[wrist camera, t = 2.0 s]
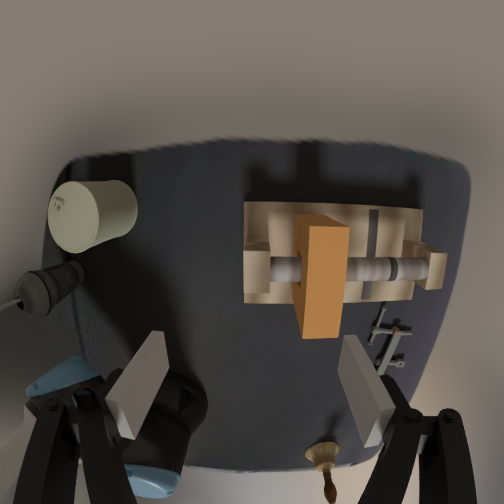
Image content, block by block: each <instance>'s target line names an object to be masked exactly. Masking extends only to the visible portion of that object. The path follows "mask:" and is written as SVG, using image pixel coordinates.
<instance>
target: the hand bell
mask: <svg viewBox="0 0 504 504" xmlns="http://www.w3.org/2000/svg"><path fill="white" fill-rule="evenodd" d="M338 451H339V445H338V444H337V443H335V442H329V441H328V442H321V443H317V444H315V445H313V446H311V447H309V448H308V449H307V450H306V452H305V456H306V457H307V458H308V459H309V460H311V461H312V462H313V463H314V465H315V468H316V470H317V471H319V472H323V476H324V480H325V486H324V494H325V497H326V499H327V501H328V502H329V504H335V501H336V496H337V492H336V488H335V485H334V484H333V482H332V479H331V473H330V470H331V469H332V468H334V466H335V455H336V454H337V453H338Z"/></svg>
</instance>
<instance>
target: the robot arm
mask: <svg viewBox="0 0 504 504" xmlns="http://www.w3.org/2000/svg"><path fill="white" fill-rule="evenodd" d="M168 369H169V362H168V356H167V350H166V344H165V337H164V332H162V331H152V332H151V333H150V335H149V336H148V337H147V339H146V340H145V341H144V343H143V344H142V346H141V347H140V349H139V350H138V351H137V353H136V354H135V356H134V357H133V358H132V360H131V361H130V363H129V364H128V366H127V367H126V368H125V369H120V368H117V369H116V370H114V371H113V372H111V373H110V375H109V376H108V377H107V380H104V379H103V377H102V376H101V375H100V373H99V372H97V371H96V370H95V369H94V368H93V367H92V366H91V365H90V364H89V363H88V362H87V361H86V360H85V359H84V358H82V357H81V356H77V355H74V356H71V357H69V358H68V359H66V360H65V361H63V362H62V363H60V364H59V365H58V366H56V367H55V368H53V369H52V370H51V371H49V372H48V373H46V374H45V375H44V376H42V377H41V378H40V379H38V380H37V381H36V382H34V383H33V384H32V385H30V386H29V387H27V389H26V393H27V396H28V397H29V398H30V400H29V401H28V402H27V403H26V404H25V405H24V415H25V420H24V422H23V423H22V424H21V425H20V427H19V428H18V429H17V430H16V431H15V432H14V433H13V435H12V436H11V437H10V438H9V439H8V440H7V441H6V442H5V444H4V445H3V446H2V447H1V449H0V504H74V497H75V486H76V477H77V470H78V463H83V469H84V474H85V480H86V485H87V490H88V494H89V499H90V503H91V504H137V501H136V499H135V496H134V495H138V496H142V497H147V498H165V497H168V496H171V495H172V494H173V493H174V491H175V489H176V487H177V484H178V482H179V480H180V478H181V476H180V475H181V471H182V467H183V463H184V459H185V456H186V452H187V448H188V444H189V440H190V437H191V435H192V434H193V433H194V432H195V430H196V429H197V428H198V427H199V426H200V424H201V423H202V422H203V421H204V419H205V416H206V413H207V408H208V403H207V399H206V396H205V395H204V393H203V391H202V390H201V389H200V388H199V387H198V386H197V385H196V384H195V383H194V382H192V381H191V380H189V379H188V378H186V377H184V376H182V375H180V374H177V373H174V372H170V371H168ZM337 372H338V374H339V377H340V380H341V383H342V385H343V388H344V391H345V394H346V397H347V399H348V402H349V405H350V408H351V411H352V414H353V417H354V420H355V422H356V425H357V428H358V431H359V434H360V437H361V440H362V443H363V446H364V448H365V447H371V446H376V445H379V443H380V441H381V439H383V442H384V446H383V447H382V449H381V451H380V453H379V455H378V457H379V458H378V460H377V463H376V465H375V467H374V470H373V472H372V475H371V477H370V479H369V481H368V483H367V485H366V488H365V490H364V492H363V494H362V496H361V498H360V500H359V502H358V504H401V503H402V501H403V498H404V495H405V492H406V489H407V486H408V483H409V480H410V476H411V473H412V469H413V466H414V462H415V458H416V454H419V481H420V485H419V488H420V489H419V492H420V493H419V504H477V498H476V489H475V481H474V474H473V468H472V463H471V457H470V453H469V447H468V443H467V438H466V434H465V430H464V426H463V422H462V418H461V416H460V414H459V413H458V412H457V411H456V410H454V409H449V408H447V409H443V410H441V411H440V413H439V414H438V416H423V414H422V413H421V412H420V411H418V410H416V409H413V408H411V407H410V406H409V404H408V402H407V400H406V399H405V397H404V395H403V394H402V392H401V390H400V388H399V387H398V385H397V383H396V382H395V380H394V379H393V378H392V377H390V376H389V375H388V374H387V375H378V373H377V372H376V370H375V368H374V366H373V364H372V363H371V361H370V359H369V357H368V355H367V354H366V352H365V350H364V348H363V347H362V345H361V343H360V341H359V340H358V338H357V336H356V335H344V338H343V344H342V350H341V355H340V360H339V365H338V370H337Z"/></svg>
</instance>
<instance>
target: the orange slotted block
mask: <svg viewBox="0 0 504 504" xmlns="http://www.w3.org/2000/svg"><path fill="white" fill-rule="evenodd" d="M349 232H350V227H348V226H346V225H344V224H342V223H340V222H338V221H336V220H334V219H332V218H330V217H328V216H325V215H318V214H295V236H294V257H302V271H301V282H293V286H292V299H293V303H294V307H295V311H296V315H297V319H298V323H299V327H300V331H301V335H302V339H311V338H337V337H338V335H339V328H340V321H341V314H342V306H343V298H344V290H345V280H346V270H347V259H348V247H349Z"/></svg>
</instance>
